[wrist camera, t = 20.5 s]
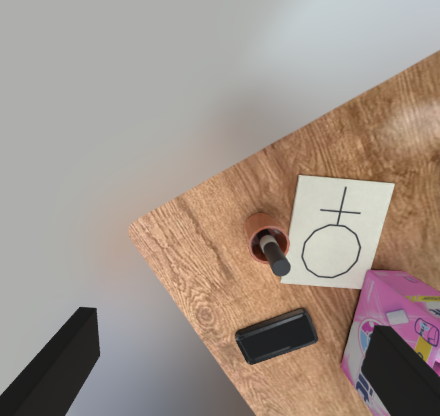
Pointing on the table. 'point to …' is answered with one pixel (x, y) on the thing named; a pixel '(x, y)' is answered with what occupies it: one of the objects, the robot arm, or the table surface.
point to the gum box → (392, 325)
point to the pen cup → (260, 223)
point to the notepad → (335, 230)
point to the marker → (273, 253)
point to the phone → (276, 336)
